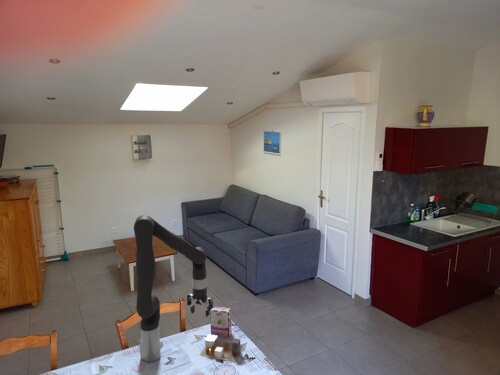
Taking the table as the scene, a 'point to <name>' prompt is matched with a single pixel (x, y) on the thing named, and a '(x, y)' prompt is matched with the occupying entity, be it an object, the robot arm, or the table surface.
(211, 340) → the cube with orange peg
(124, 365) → the table surface
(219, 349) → the matte white cube
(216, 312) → the candy bar box
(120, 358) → the table surface
